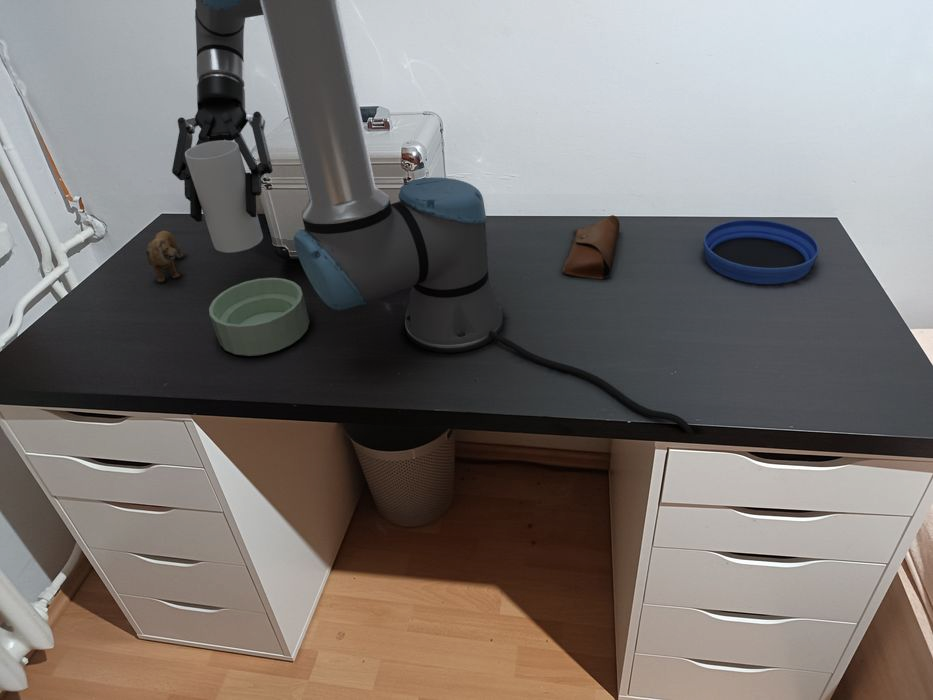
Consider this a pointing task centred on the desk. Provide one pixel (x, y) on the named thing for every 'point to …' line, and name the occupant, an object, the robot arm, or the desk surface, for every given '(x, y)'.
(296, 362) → the desk surface
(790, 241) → the blue plastic ring
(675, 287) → the desk surface
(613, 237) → the sunglasses case
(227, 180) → the cup
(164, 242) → the lion figurine
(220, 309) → the ceramic bowl
